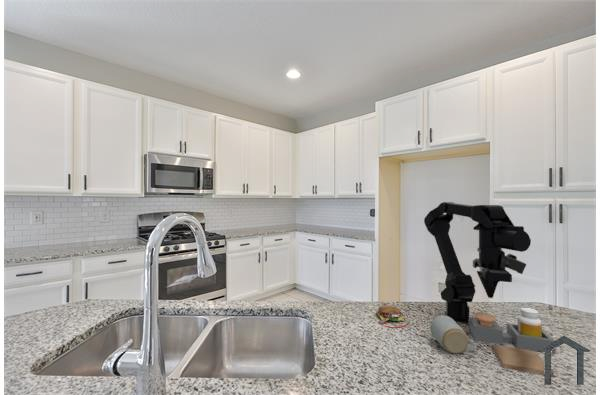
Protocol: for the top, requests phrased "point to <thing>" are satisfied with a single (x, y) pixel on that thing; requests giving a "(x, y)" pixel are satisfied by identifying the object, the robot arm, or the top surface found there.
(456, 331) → the grey cylindrical canister
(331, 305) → the top surface
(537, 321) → the supplement bottle
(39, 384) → the top surface
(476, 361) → the top surface
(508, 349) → the walnut pad
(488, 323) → the tan stopper
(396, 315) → the hamburger
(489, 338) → the divided tray
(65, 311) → the top surface
